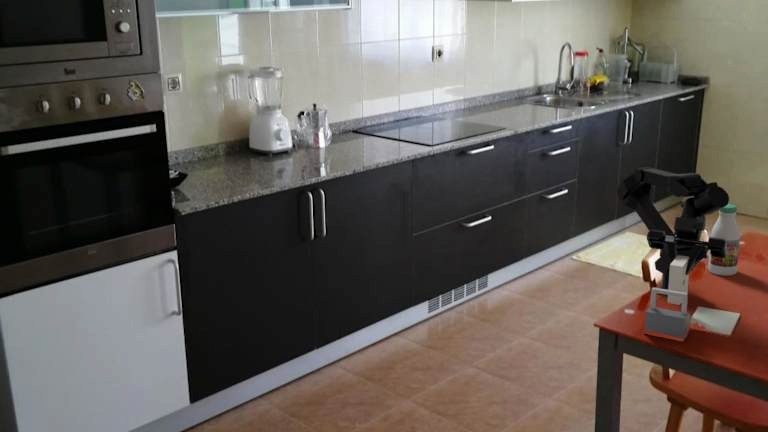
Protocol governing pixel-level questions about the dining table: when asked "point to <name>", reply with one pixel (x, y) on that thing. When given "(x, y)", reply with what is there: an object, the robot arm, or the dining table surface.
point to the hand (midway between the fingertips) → (679, 273)
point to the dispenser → (667, 316)
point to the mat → (715, 320)
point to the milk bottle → (729, 232)
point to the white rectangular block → (678, 278)
